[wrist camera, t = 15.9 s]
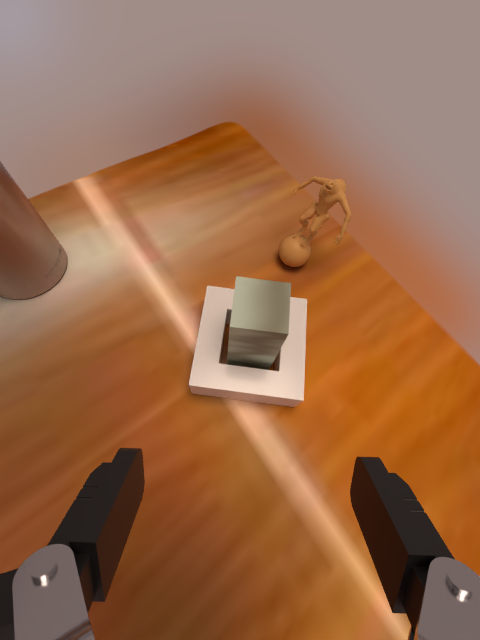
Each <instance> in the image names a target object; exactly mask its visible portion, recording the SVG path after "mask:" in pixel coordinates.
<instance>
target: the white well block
mask: <svg viewBox="0 0 480 640" xmlns="http://www.w3.org/2000/svg"><path fill="white" fill-rule="evenodd" d="M234 290H235V289H229V288H221V287H214V286H207V291H206V296H205V301H204V307H203V312H202V317H201V322H200V328H199V333H198V338H197V343H196V349H195V354H194V359H193V364H192V370H191V375H190V380H189V388H190V390H191V393H192V394H199V395H207V396H214V397H222V398H229V399H237V400H244V401H252V402H259V403H267V404H274V405H281V406H289V407H295V406H297V405H298V404H300V403H301V402H302V401H304V375H305V346H306V318H307V299H302V298H295V297H290V315H289V334H288V336H287V338H286V340H285V342H284V343H283V345H282V347H281V349H280V351H279V352H278V354H277V356H276V358H275V360H274V371H272V370H264V369H257V368H250V367H242V366H235V365H227V364H220V362H221V355H222V349H223V342H224V335H225V329H226V324H229V325H230V320H231V313H232V305H233V298H234Z"/></svg>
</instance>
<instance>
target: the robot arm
mask: <svg viewBox="0 0 480 640" xmlns="http://www.w3.org/2000/svg"><path fill="white" fill-rule="evenodd" d="M66 266H67V256H66V252H65V250H64V249H63V247H62V245H61V244H60V243H59V241H58V240H57V239H56V237H55V236H54V235H53V233H52V232H51V230H50V229H49V228H48V226H47V225H46V223H45V222H44V221H43V219H42V218H41V216H40V215H39V214H38V212H37V211H36V210H35V208H34V207H33V206H32V204H31V203H30V201H29V200H28V199H27V198H26V196H25V195H24V193H23V192H22V191H21V189H20V188H19V186H18V185H17V184H16V183H15V181H14V180H13V178H12V177H11V176H10V174H9V173H8V171H7V170H6V169H5V167H4V166H3V165H2V163H1V162H0V296H2V297H5V298H9V299H27V298H32V297H35V296H37V295H40V294H42V293H44V292H46V291H47V290H49V289H50V288H52V287H53V286H54V285H55V284H56V283H57V282H58V281H59V280H60V279H61V277H62V276H63V274H64V272H65V269H66ZM143 492H144V468H143V455H142V450H141V449H139V448H120V449H119V450H118V452H117V454H116V455H115V457H114V459H113V461H112V463H104V462H103V463H102V464H101V465H100V466H99V467H98V468H96V469H95V470H94V471H93V472H92V473H91V474H90V476H89V477H88V479H87V481H86V482H85V484H84V486H83V489H81V491H80V492H79V494H78V496H77V498H76V500H75V501H74V502H73V504H72V506H71V507H70V509H69V511H68V512H67V514H66V516H65V517H64V519H63V521H62V522H61V524H60V526H59V527H58V529H57V531H56V532H55V534H54V536H53V537H52V539H51V541H50V542H49V544H48V545H47V546H46V547H44V548H41V549H40V550H38V551H36V552H35V553H33V554H32V555H31V556H29V557H28V558H27V559H26V560H25V561H24V562H23V563H22V565H21V566H20V567H19V568H18V569H15V570H12V571H9V572H6V573H2V574H0V640H95V639H94V635H93V631H92V627H91V624H90V622H89V618H88V612H89V609H90V607H91V604H92V601H99V602H105V599H106V597H107V594H108V591H109V588H110V586H111V583H112V580H113V577H114V575H115V572H116V569H117V566H118V563H119V561H120V558H121V555H122V552H123V550H124V547H125V544H126V541H127V539H128V536H129V533H130V530H131V528H132V525H133V522H134V519H135V517H136V514H137V511H138V508H139V506H140V503H141V500H142V497H143ZM350 496H351V503H352V507H353V510H354V512H355V515H356V518H357V520H358V523H359V526H360V528H361V531H362V533H363V536H364V539H365V541H366V544H367V547H368V549H369V552H370V555H371V557H372V560H373V562H374V565H375V568H376V570H377V573H378V576H379V578H380V581H381V583H382V586H383V589H384V591H385V594H386V597H387V599H388V602H389V605H390V607H391V610H392V612H393V613H406V614H407V616H408V619H409V621H410V623H411V628H410V631H409V636H408V640H480V577H479V576H478V575H477V574H476V573H475V572H474V571H473V570H472V569H470V568H469V567H467V566H466V565H464V564H463V563H461V562H459V561H457V560H455V559H454V557H453V556H452V554H451V553H450V551H449V549H448V548H447V546H446V545H445V543H444V541H443V540H442V538H441V537H440V535H439V533H438V532H437V530H436V529H435V527H434V525H433V524H432V522H431V521H430V519H429V517H428V516H427V514H426V513H424V509H423V508H422V506H421V504H420V503H419V501H417V498H416V496H415V495H414V493H413V492H412V490H411V488H410V487H409V485H408V484H407V483H406V482H405V481H403V480H402V479H401V478H400V477H399V476H398V475H397V474H396V473H388V471H387V469H386V468H385V466H384V464H383V462H382V461H381V459H380V458H378V457H357V458H356V461H355V466H354V472H353V477H352V483H351V489H350Z"/></svg>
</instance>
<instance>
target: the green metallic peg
mask: <svg viewBox="0 0 480 640" xmlns="http://www.w3.org/2000/svg"><path fill="white" fill-rule="evenodd" d="M290 293H291V283H285V282H277V281H269V280H261V279H253V278H245V277H237V276H236V282H235V290H234V298H233V305H232V313H231V320H230V328H229V341H228V354H227V365H235V366H242V367H250V368H257V369H264V370H269V369H270V367H271V365H272V363H273V362H274V360H275V358H276V356H277V354H278V352H279V351H280V349H281V347H282V345H283V343H284V342H285V340H286V338H287V336H288V334H289V315H290Z"/></svg>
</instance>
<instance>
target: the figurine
mask: <svg viewBox="0 0 480 640" xmlns="http://www.w3.org/2000/svg"><path fill="white" fill-rule="evenodd" d="M313 181H314V182H316V183H318V184H321V185H323V186H322V188H321V190H320V194H319V202H318V204H317V202H316V201H313V202H312V204H311V205H310V207H309V209H308V210H307V211H306V212H305V213H304V214H303V215H302V216H301V217H300V223H301V224H302V225H303V227H302V228H301V230H300V231H299V232H298V233H297V234H295V235H290V236H288V237H286V238H285V239H284V240H283V241H282V242H281V244H280V247H279V256H280V258H281V260H282V261H283V263H285V264H286V265H288V266H291V267H298V266H301V265H303V264H304V263H306V262H307V260H308V259H309V257H310V254H311V246H310V243H309V241H310V240H311V239H312V238H313V237H314V236H315V235H316V233H317V230H318V229H320V228H321V226H322V225H323V224H324V223H325V222H326V221H327V220H328V219H329V215H328V214H326V212H327V211H328V210H329V209H330V208H331V207H332V206H333V205H334V204H335V203H337V202H339V203H340V204H341V206H342V208H343V210H344V212H345V214H346V217H345V219H344V223H343V225H342V228H341V232H340V235H339V236H337V237H335V238H337V240H336V241H337V243H338V242H339V243H340V241H341V240H342V238H343V234H344V232H345V230H346V227H347V224H348V222H349V220H350V218H351V211H350V208H349V205H348V203H347V199H346V196H345V191H346V184H345V182H344V181H343V180H342V179H334V180H330V179H328V178H321V177H317V176H313V177H311V178H310V179H309V180H308V181H306V182H304V183H302V184H301V185H300V186H298V187H297V188H296V189H295V190H294V192H293V193H292V195H293V194H295V193H296V191H297V190H299V189H302V188H304V187H306V186H307V185H308V184H310V183H311V182H313ZM292 195H291V197H292ZM315 213H316V215H317V216H318V217H316V218H315V219H314V220H313V222H312V226H311V227H310V230H309V233H310V234H311V235H309V237H308V238H307V239H306V238H305V237H303V236H301V235H302V233H303V232H304V231H305V230H306V228H307V225H308V221H307V219H311V218H312V217H313V216H314V215H315ZM335 238H334V239H335ZM336 241H335V242H336ZM335 242H334V243H335ZM337 243H336V244H337ZM339 243H338V244H339Z"/></svg>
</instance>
